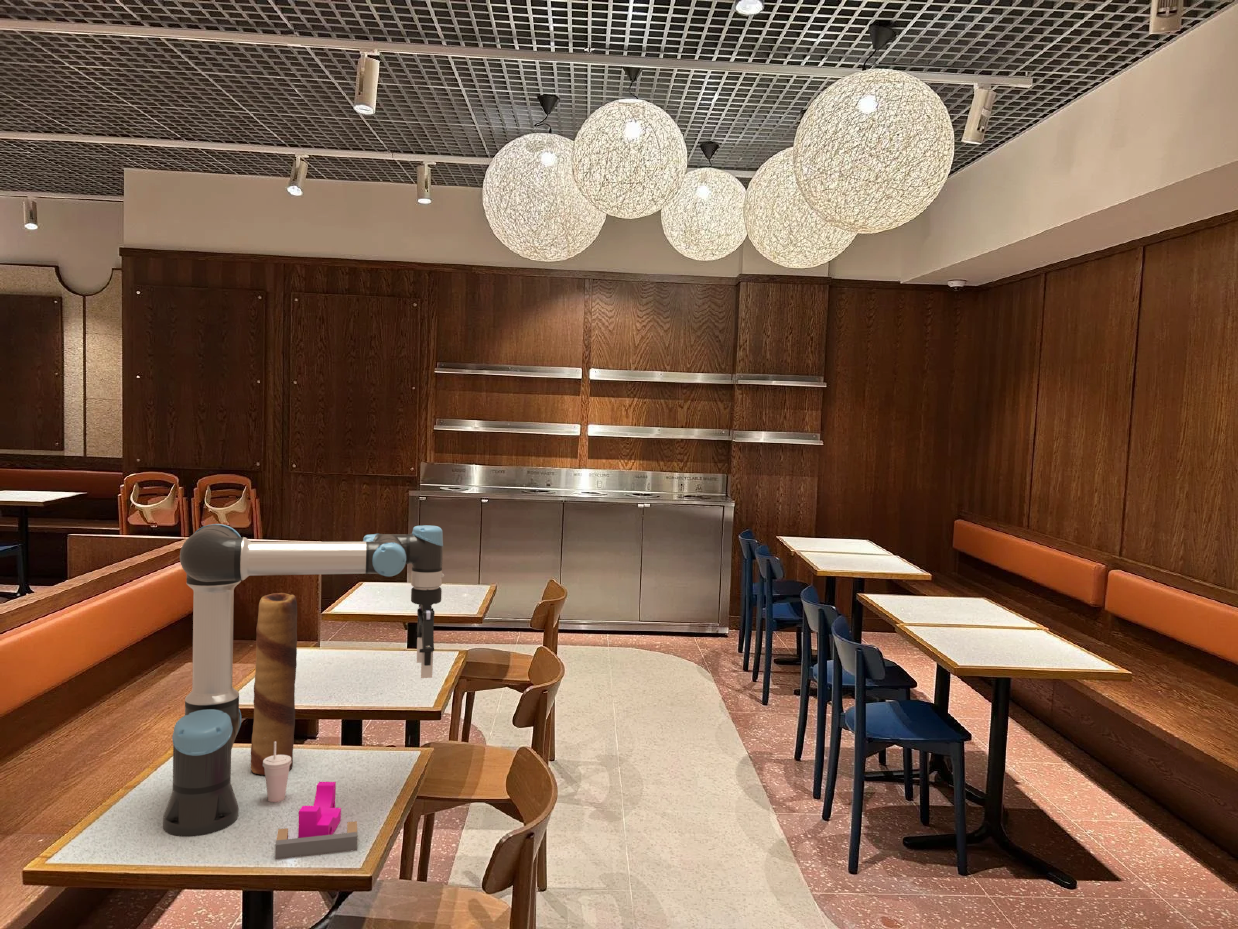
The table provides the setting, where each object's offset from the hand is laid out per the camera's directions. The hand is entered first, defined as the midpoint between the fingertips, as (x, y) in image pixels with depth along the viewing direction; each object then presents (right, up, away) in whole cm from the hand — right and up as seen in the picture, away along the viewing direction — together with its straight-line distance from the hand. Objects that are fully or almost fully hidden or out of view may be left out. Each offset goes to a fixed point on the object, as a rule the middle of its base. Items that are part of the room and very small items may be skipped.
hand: (424, 669), depth 216 cm
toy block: (-16, -29, -27) cm, 43 cm away
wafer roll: (-40, -27, +3) cm, 48 cm away
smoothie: (-32, -28, -14) cm, 45 cm away
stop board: (-14, -29, -36) cm, 49 cm away
